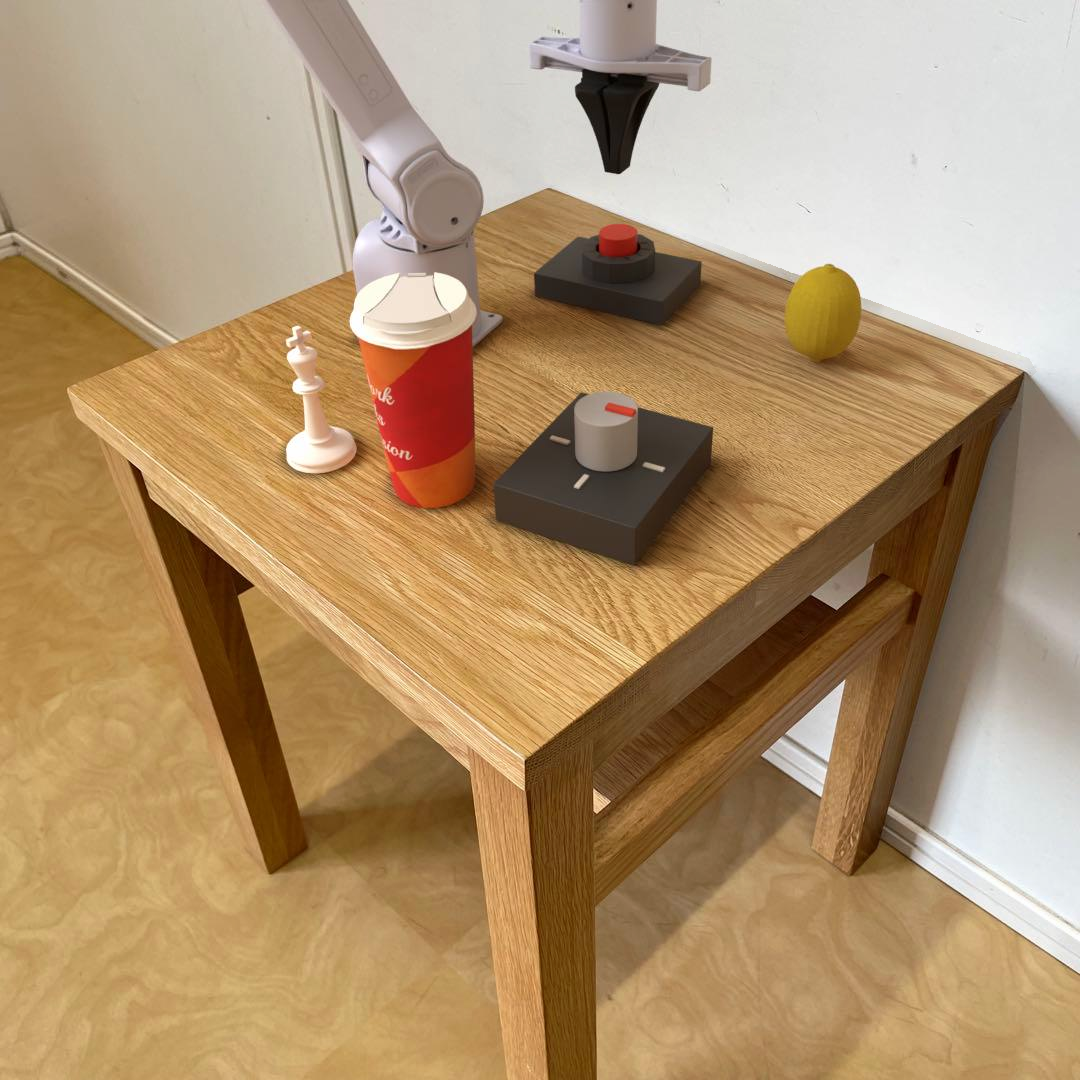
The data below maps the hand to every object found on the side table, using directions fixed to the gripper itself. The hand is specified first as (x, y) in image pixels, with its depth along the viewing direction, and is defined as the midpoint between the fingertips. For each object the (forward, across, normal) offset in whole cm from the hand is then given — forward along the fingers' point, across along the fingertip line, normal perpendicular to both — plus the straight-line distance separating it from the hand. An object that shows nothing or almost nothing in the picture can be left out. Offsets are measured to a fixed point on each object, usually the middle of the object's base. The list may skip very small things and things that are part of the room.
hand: (617, 169), depth 90 cm
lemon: (+10, -20, +5) cm, 23 cm away
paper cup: (+10, -2, +31) cm, 33 cm away
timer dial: (+7, -13, +27) cm, 30 cm away
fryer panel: (+10, -13, +27) cm, 31 cm away
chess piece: (+10, +7, +32) cm, 34 cm away
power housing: (+10, 0, +1) cm, 10 cm away
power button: (+7, -1, +1) cm, 7 cm away
